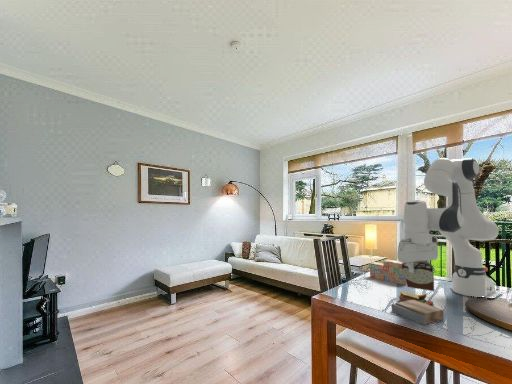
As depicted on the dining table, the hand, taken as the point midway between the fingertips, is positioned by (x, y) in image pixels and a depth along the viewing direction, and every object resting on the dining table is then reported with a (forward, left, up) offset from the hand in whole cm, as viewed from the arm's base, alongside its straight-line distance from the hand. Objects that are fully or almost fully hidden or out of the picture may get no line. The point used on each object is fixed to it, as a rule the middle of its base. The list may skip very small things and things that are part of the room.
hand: (418, 271), depth 101 cm
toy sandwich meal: (-10, -9, -18) cm, 23 cm away
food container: (-3, -1, -6) cm, 7 cm away
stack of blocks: (-33, -43, -18) cm, 56 cm away
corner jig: (+1, -1, -18) cm, 18 cm away
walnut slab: (+1, 0, -18) cm, 18 cm away
